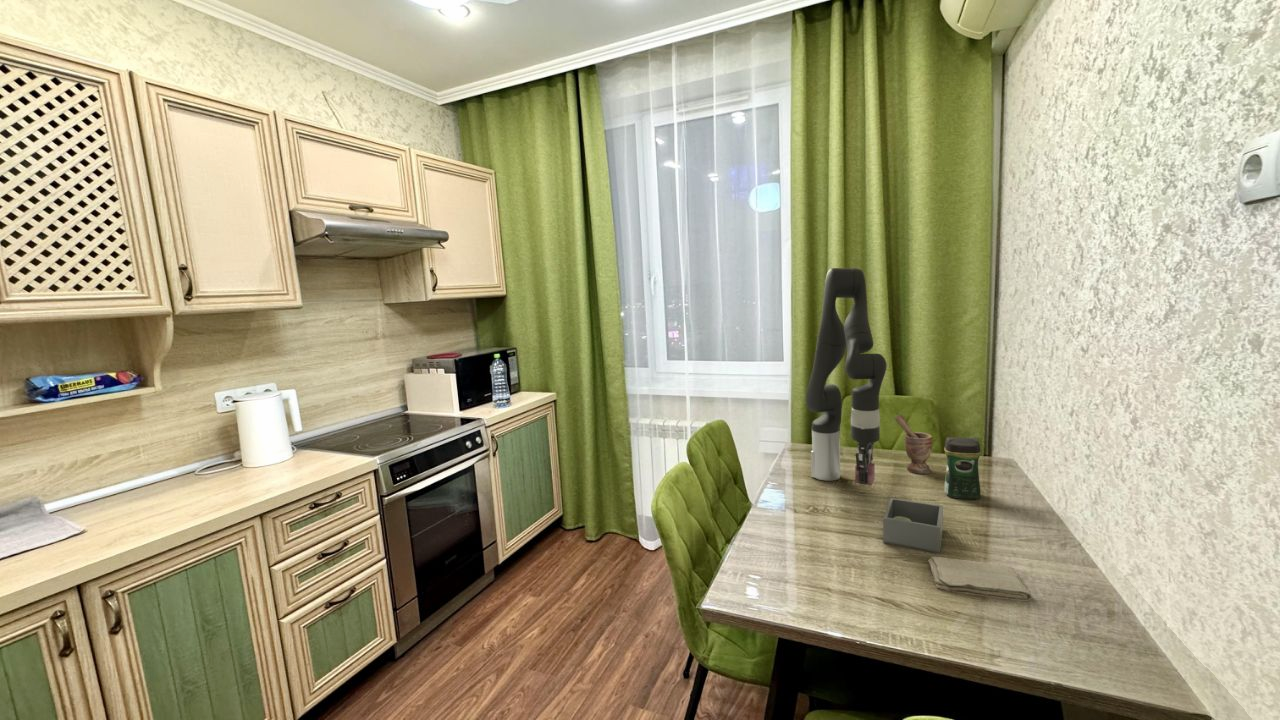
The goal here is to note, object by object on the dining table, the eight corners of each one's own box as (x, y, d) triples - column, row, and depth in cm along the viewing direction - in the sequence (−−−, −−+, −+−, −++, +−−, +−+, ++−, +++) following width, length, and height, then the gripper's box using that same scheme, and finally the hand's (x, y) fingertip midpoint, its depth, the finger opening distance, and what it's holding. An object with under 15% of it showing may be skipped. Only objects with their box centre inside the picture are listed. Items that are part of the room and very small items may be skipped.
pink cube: (855, 483, 146) (855, 466, 146) (858, 477, 150) (858, 461, 149) (871, 485, 144) (872, 468, 143) (874, 479, 148) (874, 463, 147)
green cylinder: (891, 539, 136) (891, 521, 135) (893, 532, 139) (893, 515, 138) (910, 543, 133) (910, 525, 132) (911, 535, 137) (912, 518, 136)
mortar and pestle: (896, 473, 180) (896, 418, 177) (893, 465, 188) (893, 412, 185) (933, 475, 176) (934, 419, 173) (929, 466, 184) (930, 413, 181)
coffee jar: (977, 491, 161) (979, 435, 159) (982, 501, 154) (983, 442, 152) (942, 488, 165) (943, 433, 163) (945, 498, 158) (946, 440, 156)
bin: (883, 542, 135) (883, 518, 134) (890, 520, 147) (890, 497, 146) (940, 553, 128) (940, 527, 127) (942, 529, 140) (943, 505, 139)
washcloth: (926, 564, 125) (926, 552, 124) (1013, 573, 119) (1013, 561, 118) (936, 592, 114) (936, 580, 113) (1032, 604, 108) (1033, 591, 107)
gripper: (855, 415, 152) (855, 469, 155) (845, 429, 140) (845, 487, 143) (883, 417, 148) (882, 473, 151) (875, 432, 136) (874, 492, 139)
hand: (864, 480), depth 147 cm, fingers closed on pink cube, 4 cm apart
